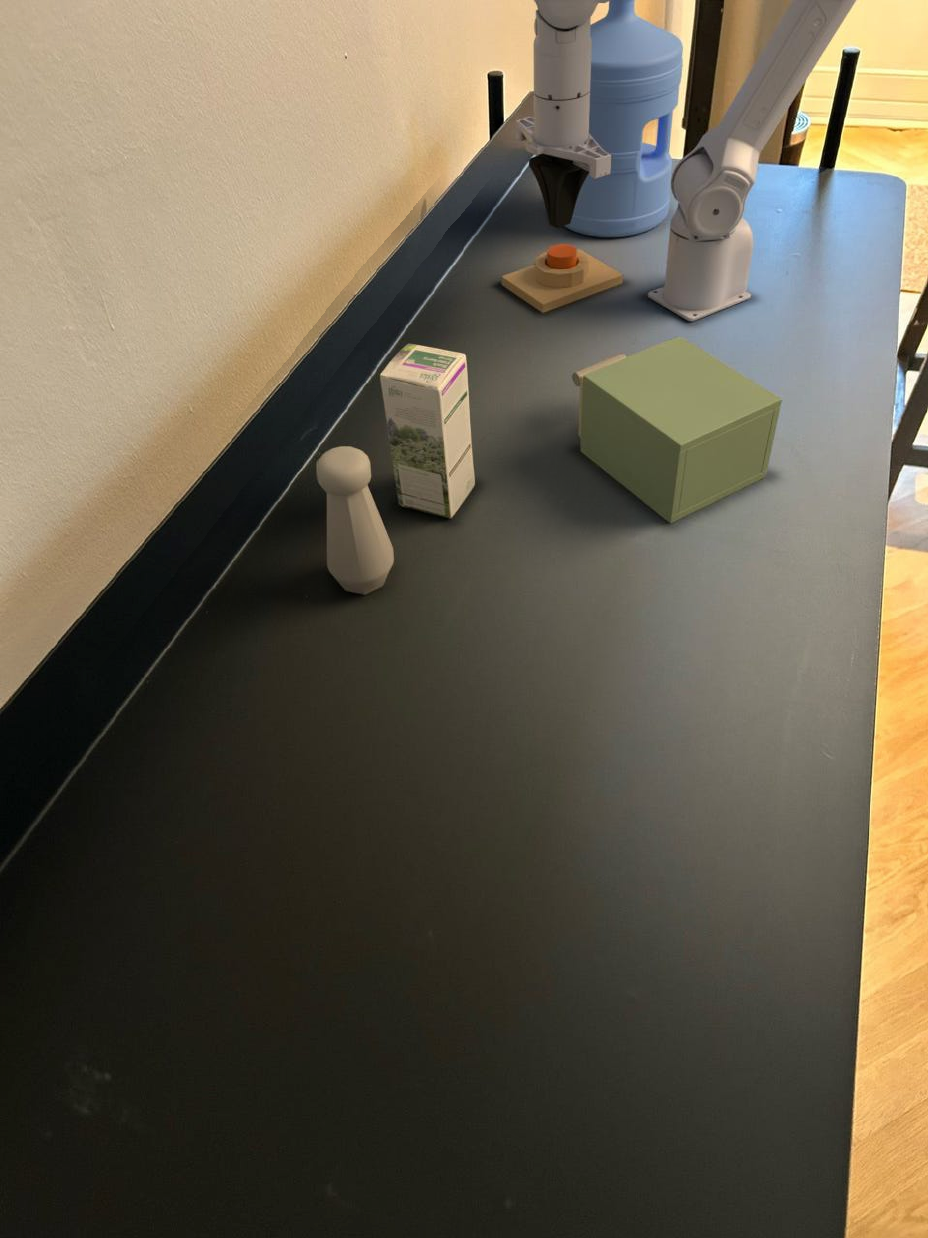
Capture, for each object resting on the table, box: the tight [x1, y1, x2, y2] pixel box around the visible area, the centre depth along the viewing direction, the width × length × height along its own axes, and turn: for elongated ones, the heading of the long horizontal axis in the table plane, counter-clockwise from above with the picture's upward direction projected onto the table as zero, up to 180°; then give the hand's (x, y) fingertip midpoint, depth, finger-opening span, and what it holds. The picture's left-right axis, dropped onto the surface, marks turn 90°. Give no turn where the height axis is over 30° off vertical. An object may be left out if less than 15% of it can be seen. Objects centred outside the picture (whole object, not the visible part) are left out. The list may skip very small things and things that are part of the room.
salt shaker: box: [316, 445, 395, 596], centre depth 78 cm, size 6×6×13 cm
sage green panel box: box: [580, 335, 783, 524], centre depth 89 cm, size 14×12×9 cm
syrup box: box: [379, 342, 476, 519], centre depth 85 cm, size 6×6×14 cm
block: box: [500, 248, 624, 314], centre depth 117 cm, size 12×9×3 cm
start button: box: [546, 243, 578, 269], centre depth 116 cm, size 4×4×2 cm
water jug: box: [564, 0, 684, 238], centre depth 121 cm, size 16×16×28 cm
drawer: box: [571, 341, 665, 438], centre depth 91 cm, size 17×10×7 cm, turn 32°
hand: (560, 223), depth 106 cm, fingers closed
